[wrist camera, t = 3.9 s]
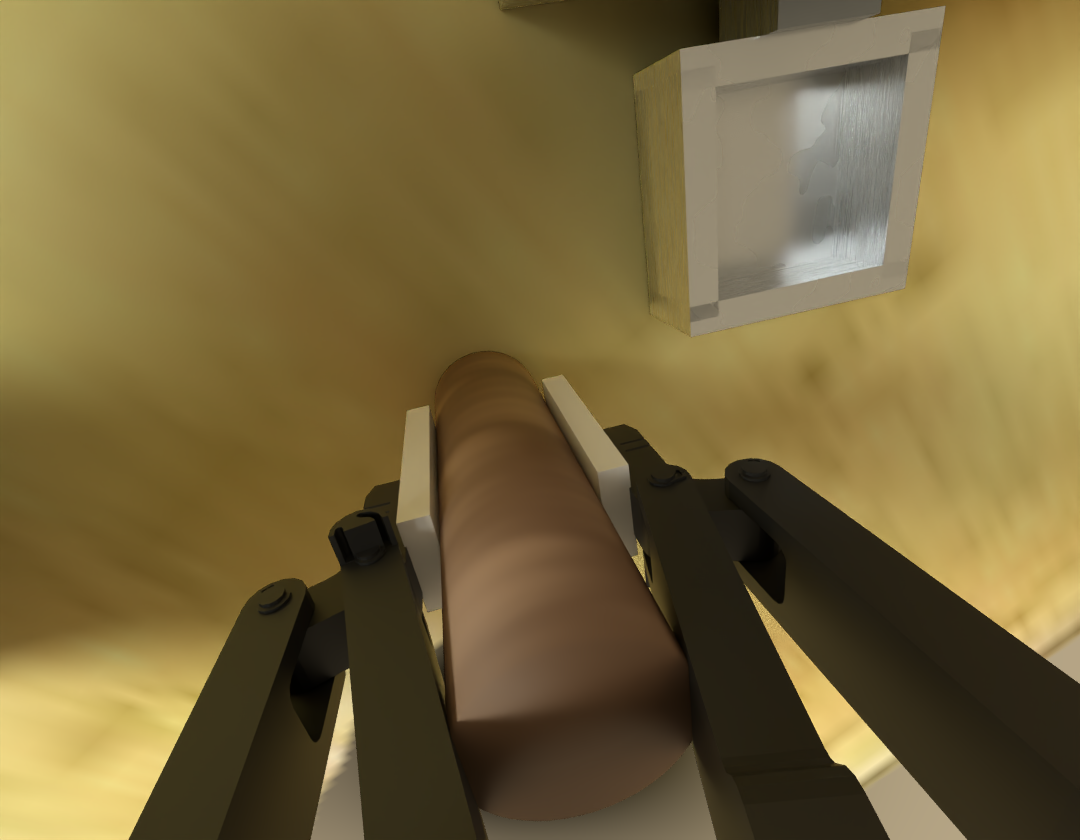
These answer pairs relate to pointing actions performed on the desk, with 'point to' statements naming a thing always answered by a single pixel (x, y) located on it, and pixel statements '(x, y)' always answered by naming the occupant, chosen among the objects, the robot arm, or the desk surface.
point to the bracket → (783, 159)
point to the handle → (543, 613)
